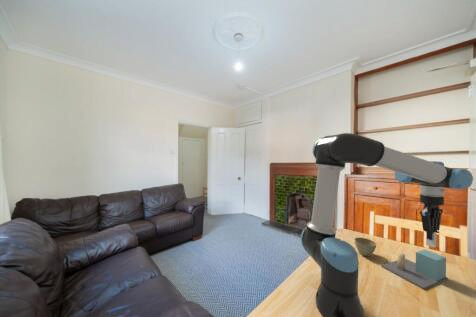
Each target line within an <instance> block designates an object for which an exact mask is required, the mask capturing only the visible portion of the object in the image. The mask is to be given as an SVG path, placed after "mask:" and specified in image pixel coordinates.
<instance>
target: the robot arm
mask: <svg viewBox="0 0 476 317" xmlns="http://www.w3.org/2000/svg"><path fill="white" fill-rule="evenodd" d="M312 154H313V157H314V159H315V164H314V165H315V166H316V168H317V176H316V183H315V190H314V191H315V192H314V199H313V206H312V213H311V220H310V221H309V222H308V223H307V224H306V227H305V229H302V231H301V234H300V242H301V245H302V247H303V249H304V250H305V252H306V253H307V254H308V255H309V256H310V257H311V258H312V260H313V261H314V262H315V263H316V265H318V267H319V268H320V283H319V286H318V289H317V291H316V293H315V306H316V307H317V310H318V309H319V310H318V311H319V312H320V314H321V315H322V316H323V317H365V312H364V308H363V306H362V303H361V300H360V297H359V264H360V262H359V256H358V255H359V254H358V252H357V250H356V248H355V247H354V246H353V245H352V244H350V242H348V241H346V240H341V239H340V238H336V234H337V231H336V230H335V228H334V227H333V225H334V219H335V218H334V217H335V211H336V205H337V204H336V203H337V196H338V190H339V181H340V174H341V171H343V170H345V168H346V164H357V165H363V166H365V167H366V166H367V167H374V166H375V167H379V168H381V169H384V170H388V171H391V172H394V178H395V179H396V180H397V182H399V183H403V184H419V193H420V194H419V202H420V203H422V204H423V210H420V211H419V214H420V216H421V223H422V230H423V231H424V232H426V233H425V234H426V235H425V236H426V237H425V245H426V246H427V247H431V248H436V247H437V234H440V228H441V227H440V226H441V221H442V215H443V209H442V208H440V206H444V205H445V197H444V196H445V192H446V189H445V188H448V189H451V190H466V189H469V188H470V187H471V186H472V184H473V181H474V177H473V174H472V172H470V171H469V170H468V169H465V168H459V167H455V168H454V167H449V166H445V164H444V162H442V161H437V160H436V161H435V160H434V161H432V160H430V161H429V160H426V159H423V158H420V157H418V156H414V155H411V154H408V153H406V152H402V151H399V150H397V149H394V148H390V147H387V146H386V145H385V144H384V143H383V141H382V142H381V141H378V140H375V139H373V138H370V137H367V136H363V135H360V134H357V133H349V132H342V133H339V134H332V135H331V134H330V135H325V136H323V137H320V138H319V139H318V140H316V141H315V143H314V144H313V147H312Z"/></svg>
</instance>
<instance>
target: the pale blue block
mask: <svg viewBox="0 0 476 317" xmlns="http://www.w3.org/2000/svg"><path fill="white" fill-rule="evenodd" d="M415 263H416V271H417V272H419V273H421V274H423V275H425V276H427V277H429V278H431V279H434V280H436V281H438V280H440V279H443V278H445V277H447V256H443V255H441V254H439V253H436V252H432V251H430V250H427V249H421V250H418V251H415Z"/></svg>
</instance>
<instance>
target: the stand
mask: <svg viewBox="0 0 476 317" xmlns="http://www.w3.org/2000/svg"><path fill="white" fill-rule="evenodd" d="M381 268H383V269H384V270H387V271H388V272H390V273H392V274H394V275H396V276H397V277H399V278H401V279H403V280H405V281H407V282H408V283H411V284H413V285H414V286H416V287H417V288H420V289H422V290H426V289H428V288H431V287H433V286H436V285H438V284H441V283H443V282H445V281H448V280H449V279H448V278H449V277H447V276H446V277H445V278H443V279H440V280H438V281H436V280H434V279H431V278H429V277H427V276H425V275H423V274H421V273H419V272H417V271H416V262H414V261H412V260H409V259H407V258H406V255H405V254H404V253H403V252H397V259H396V260H395V261H391V262H388V263H385V264H381Z"/></svg>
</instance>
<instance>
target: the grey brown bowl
mask: <svg viewBox="0 0 476 317" xmlns="http://www.w3.org/2000/svg"><path fill="white" fill-rule="evenodd" d="M354 244H355V247H356V248H357V251H358V253H359V254H360V255H362V256H365V257H370V256H372V255H373V253H374V252H375V251H376V248H377V243H376V242H375V241H373V240H372V239H369V238H367V237H366V238H365V237H355V238H354Z"/></svg>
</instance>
